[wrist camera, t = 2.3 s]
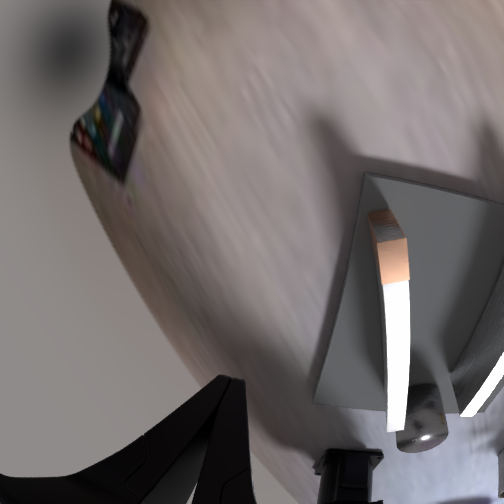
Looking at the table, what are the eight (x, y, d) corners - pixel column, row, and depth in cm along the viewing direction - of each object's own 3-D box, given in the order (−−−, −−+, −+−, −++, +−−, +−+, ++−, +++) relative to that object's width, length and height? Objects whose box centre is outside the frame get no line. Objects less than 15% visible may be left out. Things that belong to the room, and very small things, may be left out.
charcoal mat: (481, 404, 21) (483, 412, 20) (313, 394, 24) (312, 403, 23) (571, 227, 13) (578, 232, 12) (364, 171, 16) (366, 175, 15)
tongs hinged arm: (437, 409, 21) (443, 447, 17) (383, 418, 22) (384, 457, 19) (449, 198, 14) (479, 224, 11) (366, 212, 16) (376, 242, 12)
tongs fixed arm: (462, 376, 19) (474, 416, 15) (449, 375, 19) (459, 416, 15) (532, 216, 13) (568, 243, 9) (518, 212, 13) (554, 238, 10)
